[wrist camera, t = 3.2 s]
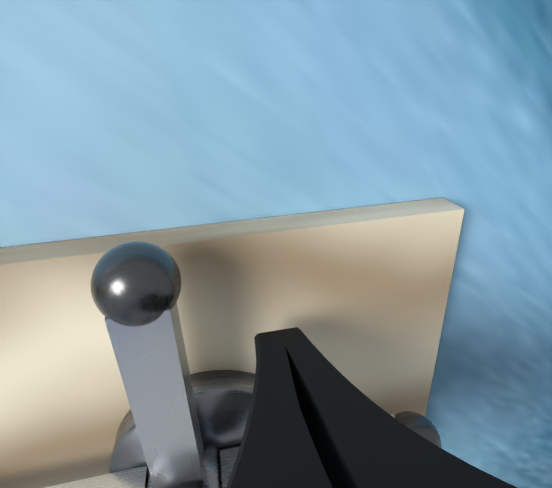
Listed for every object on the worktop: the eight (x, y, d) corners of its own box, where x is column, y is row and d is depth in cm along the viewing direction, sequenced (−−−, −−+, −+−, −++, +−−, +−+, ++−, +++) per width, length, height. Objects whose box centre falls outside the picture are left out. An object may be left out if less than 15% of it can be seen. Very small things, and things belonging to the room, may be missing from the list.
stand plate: (397, 480, 20) (408, 503, 19) (36, 568, 17) (26, 600, 16) (442, 197, 13) (464, 208, 12) (-149, 264, 10) (-187, 287, 9)
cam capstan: (388, 519, 20) (427, 608, 16) (8, 618, 17) (-35, 749, 13) (441, 182, 12) (535, 226, 8) (-263, 256, 9) (-524, 366, 6)
